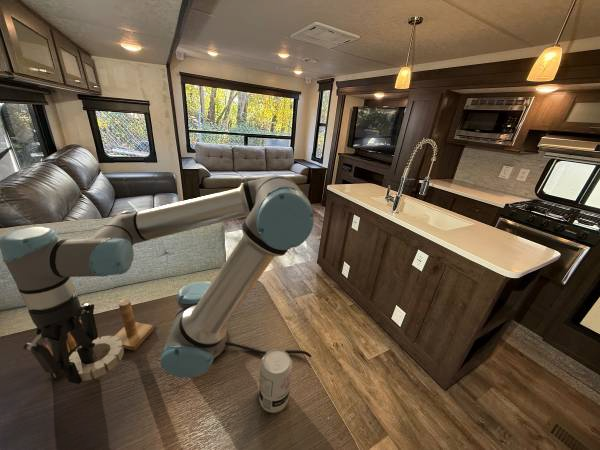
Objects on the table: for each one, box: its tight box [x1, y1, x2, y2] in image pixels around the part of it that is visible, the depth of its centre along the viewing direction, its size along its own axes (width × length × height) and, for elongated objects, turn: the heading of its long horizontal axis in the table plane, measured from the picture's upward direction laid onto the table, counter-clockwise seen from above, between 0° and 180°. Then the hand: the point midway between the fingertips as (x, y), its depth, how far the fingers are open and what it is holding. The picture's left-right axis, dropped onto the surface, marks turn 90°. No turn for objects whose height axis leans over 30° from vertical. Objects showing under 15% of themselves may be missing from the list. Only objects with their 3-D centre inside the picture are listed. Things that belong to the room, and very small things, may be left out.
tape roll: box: [69, 335, 125, 382], centre depth 64 cm, size 11×11×3 cm
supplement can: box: [258, 348, 293, 414], centre depth 65 cm, size 8×8×15 cm
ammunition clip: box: [45, 319, 83, 380], centre depth 70 cm, size 11×2×12 cm, turn 169°
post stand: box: [114, 298, 155, 351], centre depth 80 cm, size 9×9×14 cm
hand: (82, 374), depth 61 cm, fingers closed on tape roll, 3 cm apart
